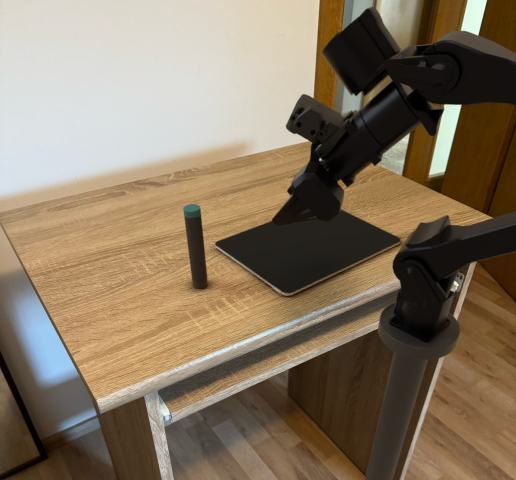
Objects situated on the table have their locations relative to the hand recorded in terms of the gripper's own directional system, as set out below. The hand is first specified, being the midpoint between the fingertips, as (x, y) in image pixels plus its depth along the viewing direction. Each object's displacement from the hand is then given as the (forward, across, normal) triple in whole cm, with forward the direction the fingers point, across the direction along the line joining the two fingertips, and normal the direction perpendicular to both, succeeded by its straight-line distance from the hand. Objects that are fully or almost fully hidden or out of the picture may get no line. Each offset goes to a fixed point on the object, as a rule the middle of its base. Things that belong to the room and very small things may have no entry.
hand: (282, 207), depth 66 cm
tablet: (+8, -14, +11) cm, 20 cm away
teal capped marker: (+18, +2, +1) cm, 18 cm away
